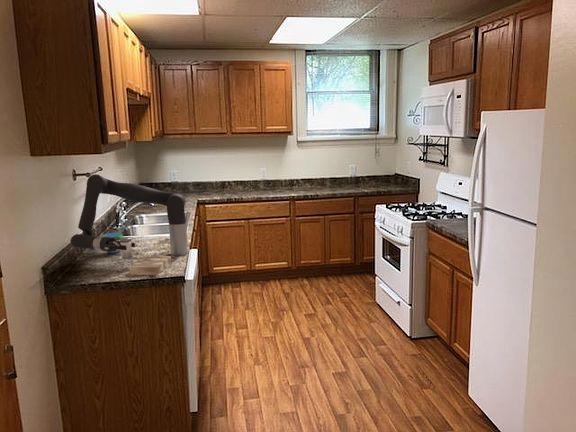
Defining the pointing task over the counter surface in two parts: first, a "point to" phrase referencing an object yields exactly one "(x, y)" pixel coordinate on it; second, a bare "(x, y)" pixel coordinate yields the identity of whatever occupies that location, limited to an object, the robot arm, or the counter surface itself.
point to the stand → (150, 265)
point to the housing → (127, 241)
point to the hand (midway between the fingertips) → (130, 246)
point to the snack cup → (116, 236)
